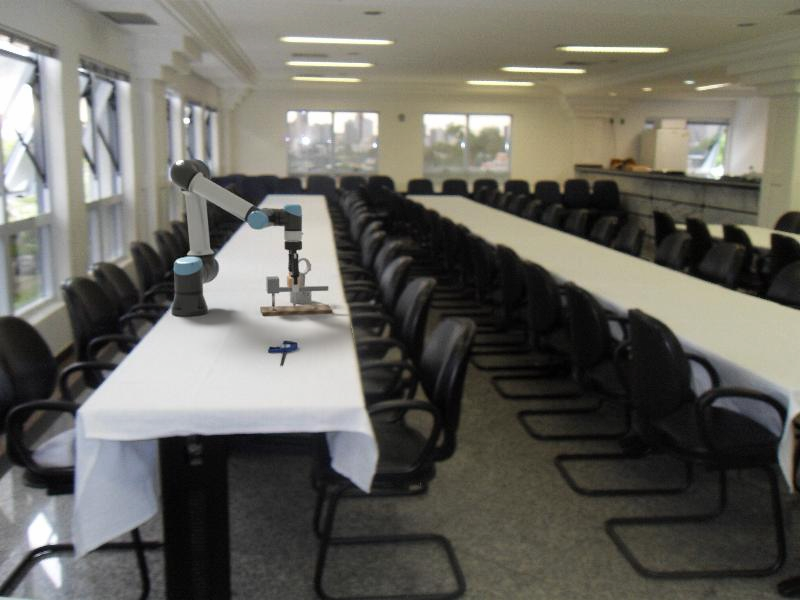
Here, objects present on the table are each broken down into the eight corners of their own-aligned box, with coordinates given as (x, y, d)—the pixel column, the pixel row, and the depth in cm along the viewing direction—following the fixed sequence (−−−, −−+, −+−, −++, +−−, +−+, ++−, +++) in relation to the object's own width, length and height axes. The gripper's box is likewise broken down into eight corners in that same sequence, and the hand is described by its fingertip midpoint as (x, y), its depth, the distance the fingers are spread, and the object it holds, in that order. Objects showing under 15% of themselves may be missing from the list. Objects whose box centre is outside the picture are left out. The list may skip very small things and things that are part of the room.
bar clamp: (269, 340, 287) (297, 340, 288) (270, 346, 288) (297, 346, 289) (262, 368, 256) (293, 367, 257) (262, 375, 256) (293, 375, 257)
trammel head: (288, 308, 343) (288, 278, 341) (287, 305, 350) (286, 276, 348) (300, 308, 344) (300, 278, 342) (298, 305, 351) (298, 275, 349)
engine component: (285, 301, 371) (297, 304, 364) (285, 257, 368) (296, 260, 360) (305, 298, 378) (317, 301, 371) (305, 255, 374) (317, 258, 367)
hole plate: (262, 315, 339) (262, 311, 338) (260, 310, 350) (260, 306, 350) (332, 313, 346) (332, 309, 345) (328, 307, 357) (328, 304, 357)
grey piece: (267, 310, 341) (267, 279, 339) (266, 307, 348) (266, 276, 345) (329, 308, 348) (329, 277, 345) (326, 305, 354) (326, 275, 352)
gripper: (305, 243, 331) (305, 294, 335) (298, 237, 355) (299, 284, 359) (287, 244, 329) (288, 294, 333) (281, 237, 353) (282, 284, 357)
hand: (293, 289), depth 346 cm, fingers open, 13 cm apart
